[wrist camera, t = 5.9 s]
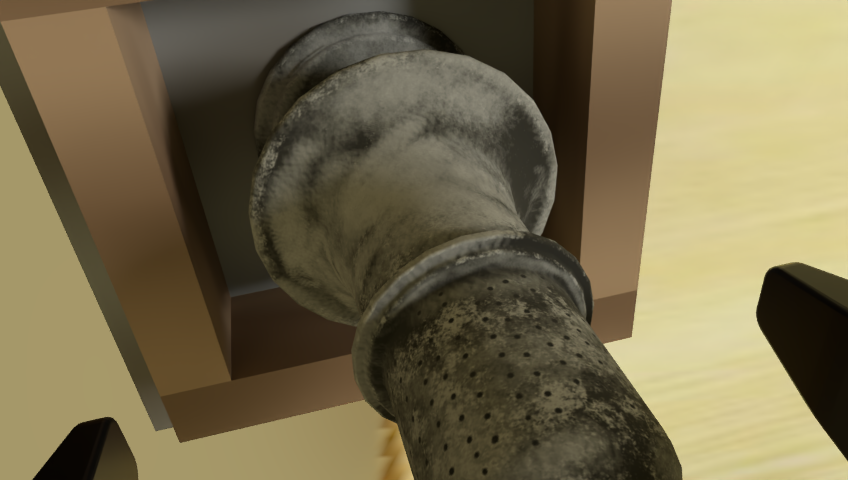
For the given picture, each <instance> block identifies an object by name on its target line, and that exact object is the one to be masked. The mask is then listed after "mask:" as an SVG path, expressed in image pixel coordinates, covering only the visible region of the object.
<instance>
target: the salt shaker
mask: <svg viewBox="0 0 848 480" xmlns="http://www.w3.org/2000/svg"><path fill="white" fill-rule="evenodd" d="M254 136H255V142H256V147H257V153H258V158H259V159H258V161H257V164H256V166H255V168H254V170H253V175H252V183H251V192H250V200H249V209H248V213H249V218H250V223H251V228H252V234H253V239H254V244H255V249H256V251H257V253H258V255H259V257H260V258H261V260H262V262H263V264H264V265H265V267H266V269H267V271H268V273H269V274H270V276H271V278H272V280H273V281H274V282H275V283H276V284H277V285H278V286H279V287H280V288H281V289H282V290H284V291H285V292H286V293H287V294H288V295H289V296H290V297H291V298H292V299H293V300H294V301H295V302H296V303H297V304H299V305H301V306H302V307H304V308H306V309H308V310H310V311H312V312H314V313H316V314H318V315H320V316H322V317H323V318H325V319H327V320H330V321H334V322H338V323H343V324H347V325H351V326H355V327H357V329H356V333H355V337H354V341H353V346H352V350H351V353H352V363H353V373H354V379H355V381H356V383H357V385H358V387H359V389H360V391H361V393H362V395H363V397H364V399H365V401H366V402H367V403H368V404H369V405H370V406H371V407H373V408H374V409H375V410H376V411H377V412H378V413H379V414H380V415H381V416H382V417H384V418H386V419H388V420H391V421H393V422H395V423H397V425H398V428H399V431H400V435H401V438H402V441H403V444H404V448H405V451H406V454H407V458H408V461H409V464H410V467H411V471H412V474H413V477H414V480H682V467H681V465H680V462H679V460H678V457H677V455H676V452H675V450H674V447H673V445H672V443H671V441H670V439H669V438H668V436H667V434H666V433H665V431H664V430H663V428H662V426H661V425H660V424H659V422H658V421H657V419H656V418H655V417H654V415H653V414H652V412H651V411H650V410H649V408H648V407H647V405H646V404H645V403H644V401H643V400H642V398H641V397H640V395H639V394H638V393H637V391H636V390H635V388H634V387H633V386H632V384H631V383H630V381H629V380H628V379H627V377H626V376H625V374H624V373H623V372H622V370H621V369H620V367H619V366H618V364H617V363H616V362H615V360H614V359H613V357H612V356H611V355H610V353H609V352H608V350H607V349H606V348H605V346H604V345H603V343H602V342H601V341H600V339H599V338H598V336H597V335H596V334H595V332H594V331H593V329H592V328H591V321H592V314H593V308H594V301H593V295H592V289H591V283H590V280H589V278H588V277H587V275H586V273H585V271H584V270H583V268H582V266H581V265H580V263H579V261H578V260H577V259H576V257H575V256H573V255H572V254H571V253H570V252H568V251H567V250H566V249H565V248H563V247H562V246H561V245H559V244H558V243H557V242H556V241H553V240H551V239H548V238H545V237H542V236H541V234H542V233H543V230H544V227H545V224H546V222H547V219H548V216H549V214H550V211H551V208H552V205H553V203H554V199H555V188H556V177H557V167H558V165H557V160H556V155H555V150H554V145H553V140H552V135H551V131H550V129H549V127H548V125H547V124H546V122H545V120H544V118H543V116H542V114H541V113H540V111H539V109H538V107H537V105H536V104H535V102H534V100H533V99H532V98H531V97H530V96H529V95H527V94H526V93H525V92H524V91H523V90H522V89H521V88H520V87H519V86H518V85H517V84H516V83H515V82H514V81H513V80H511V79H510V78H509V77H508V76H507V75H506V74H505V73H504V72H501V71H499V70H497V69H495V68H493V67H491V66H489V65H487V64H485V63H483V62H480V61H478V60H476V59H474V58H472V57H470V56H467V55H465V54H464V52H463V51H462V50H461V49H460V48H459V47H458V46H457V45H456V44H455V43H454V42H453V41H452V40H450V39H449V38H448V37H447V36H446V35H445V34H444V33H443V32H442V31H441V30H439V29H437V28H435V27H433V26H431V25H429V24H427V23H425V22H423V21H421V20H419V19H417V18H415V17H413V16H407V15H402V14H396V13H390V12H384V11H375V12H365V13H355V14H347V15H345V16H342V17H340V18H337V19H334V20H332V21H329V22H327V23H324V24H321V25H319V26H316V27H315V28H314V29H312V30H311V31H310V32H308V33H307V34H305V35H304V36H303V37H301V38H300V39H299V40H297V41H296V42H295V43H293V44H292V45H290V46H289V47H288V49H287V50H286V51H285V53H284V54H283V55H282V56H281V58H280V59H279V60H278V61H277V63H276V64H275V65H274V66H273V68H272V69H271V70H270V71H269V73H268V76H267V78H266V81H265V83H264V85H263V88H262V90H261V92H260V95H259V97H258V100H257V105H256V114H255V123H254Z"/></svg>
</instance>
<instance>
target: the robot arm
mask: <svg viewBox="0 0 848 480" xmlns="http://www.w3.org/2000/svg"><path fill="white" fill-rule="evenodd" d="M756 317H757V322H758V324H759V327H760V329H761V331H762V332H763V334H764V336H765V337H766V339H767V340H768V342H769V344H770V345H771V347H772V349H773V350H774V352H775V354H776V355H777V357H778V359H779V360H780V362H781V363H782V365H783V367H784V368H785V370H786V372H787V373H788V375H789V377H790V378H791V380H792V381H793V383H794V385H795V386H796V388H797V390H798V391H799V393H800V395H801V396H802V398H803V400H804V401H805V403H806V404H807V406H808V407H809V409H810V410H811V412H812V413H813V415H814V416H815V418H816V419H817V421H818V422H819V423H820V425H821V426H822V428H823V429H824V430H825V432H826V433H827V434H828V436H829V437H830V438H831V440H832V441H833V442H834V444H835V445H836V446H837V447H838V449H839V450H840V451H841V453H842V454H843V455H844V457H845V458H846V459H847V461H848V280H847V279H844V278H842V277H839V276H836V275H833V274H831V273H828V272H825V271H822V270H820V269H817V268H814V267H811V266H808V265H806V264H803V263H799V262H792V263H788V264H783V265H779V266H774V267H772V268H770V269H769V270H768V271H767V273H766V274H765V277H764V281H763V285H762V289H761V293H760V297H759V301H758V305H757V310H756ZM33 480H138V470H137V465H136V461H135V458H134V456H133V454H132V452H131V450H130V448H129V446H128V444H127V441H126V439H125V437H124V435H123V433H122V431H121V429H120V427H119V425H118V423H117V422H116V421H115V420H114V419H113V418H111V417H104V418H100V419H95V420H91V421H87V422H82V423H80V424H78V425H77V426H76V427H74V428H73V429H72V430H71V432H70V433H69V434H68V435H67V437H66V438H65V439H64V441H63V442H62V443H61V444H60V446H59V447H58V448H57V450H56V451H55V452H54V453H53V454H52V456H51V457H50V458H49V460H48V461H47V462H46V463H45V465H44V466H43V467H42V468H41V469H40V471H39V472H38V473H37V475H36V476H35V477H34V478H33Z"/></svg>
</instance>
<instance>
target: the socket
mask: <svg viewBox="0 0 848 480" xmlns="http://www.w3.org/2000/svg"><path fill="white" fill-rule="evenodd" d="M671 4H672V0H0V86H1V88H2V90H3V93H4V95H5V97H6V99H7V101H8V104H9V106H10V108H11V110H12V112H13V114H14V117H15V119H16V121H17V123H18V126H19V128H20V130H21V133H22V135H23V137H24V139H25V141H26V143H27V146H28V148H29V150H30V153H31V155H32V157H33V159H34V162H35V164H36V166H37V168H38V170H39V173H40V175H41V177H42V179H43V182H44V184H45V186H46V188H47V190H48V193H49V195H50V197H51V199H52V202H53V203H54V206H55V208H56V210H57V213H58V215H59V217H60V219H61V221H62V224H63V226H64V228H65V230H66V233H67V235H68V237H69V239H70V242H71V244H72V246H73V248H74V250H75V253H76V255H77V257H78V259H79V262H80V264H81V266H82V268H83V270H84V273H85V275H86V277H87V279H88V282H89V284H90V286H91V288H92V290H93V292H94V295H95V297H96V299H97V302H98V304H99V306H100V308H101V310H102V313H103V315H104V317H105V319H106V322H107V324H108V326H109V328H110V331H111V333H112V335H113V337H114V339H115V342H116V344H117V346H118V348H119V351H120V353H121V355H122V357H123V359H124V362H125V364H126V366H127V368H128V371H129V373H130V375H131V377H132V379H133V382H134V384H135V386H136V388H137V391H138V393H139V395H140V397H141V399H142V402H143V404H144V406H145V408H146V410H147V413H148V415H149V417H150V419H151V421H152V424H153V426H154V428H155V430H156V431H158V430H163V429H167V428H172V427H173V428H174V430H175V432H176V435H177V437H178V439H179V442H180V443H181V442H186V441H190V440H194V439H198V438H203V437H207V436H211V435H216V434H219V433H224V432H228V431H232V430H237V429H241V428H245V427H249V426H254V425H258V424H262V423H267V422H271V421H275V420H279V419H284V418H288V417H292V416H296V415H301V414H305V413H309V412H314V411H318V410H322V409H326V408H330V407H335V406H339V405H344V404H348V403H352V402H356V401H361V400H365V399H364V397H363V395H362V393H361V391H360V389H359V387H358V385H357V383H356V381H355V379H354V373H353V363H352V353H351V350H352V346H353V341H354V337H355V333H356V329H357V327H355V326H351V325H347V324H343V323H338V322H334V321H330V320H327V319H325V318H323V317H322V316H320V315H318V314H316V313H314V312H312V311H310V310H308V309H306V308H304V307H302V306H301V305H299V304H297V303H296V302H295V301H294V300H293V299H292V298H291V297H290V296H289V295H288V294H287V293H286V292H285V291H284V290H282V289H281V288H280V287H279V286H278V285H277V284H276V283H275V282H274V281H273V280H272V278H271V276H270V274H269V273H268V271H267V269H266V267H265V265H264V264H263V262H262V260H261V258H260V257H259V255H258V253H257V251H256V249H255V244H254V239H253V234H252V228H251V223H250V218H249V213H248V209H249V200H250V192H251V183H252V175H253V170H254V168H255V166H256V164H257V161H258V159H259V158H258V153H257V147H256V142H255V136H254V123H255V114H256V105H257V100H258V97H259V95H260V92H261V90H262V88H263V85H264V83H265V81H266V78H267V76H268V73H269V71H270V70H271V69H272V68H273V66H274V65H275V64H276V63H277V61H278V60H279V59H280V58H281V56H282V55H283V54H284V53H285V51H286V50H287V49H288V47H289V46H290V45H292V44H293V43H295V42H296V41H297V40H299V39H300V38H301V37H303V36H304V35H305V34H307V33H308V32H310V31H311V30H312V29H314V28H315V27H316V26H319V25H321V24H324V23H327V22H329V21H332V20H334V19H337V18H340V17H342V16H345V15H347V14H355V13H365V12H375V11H384V12H390V13H396V14H402V15H407V16H413V17H415V18H417V19H419V20H421V21H423V22H425V23H427V24H429V25H431V26H433V27H435V28H437V29H439V30H441V31H442V32H443V33H444V34H445V35H446V36H447V37H448V38H449V39H450V40H452V41H453V42H454V43H455V44H456V45H457V46H458V47H459V48H460V49H461V50H462V51H463V52H464V54H465V55H467V56H470V57H472V58H474V59H476V60H478V61H480V62H483V63H485V64H487V65H489V66H491V67H493V68H495V69H497V70H499V71H501V72H504V73H505V74H506V75H507V76H508V77H509V78H510V79H511V80H513V81H514V82H515V83H516V84H517V85H518V86H519V87H520V88H521V89H522V90H523V91H524V92H525V93H526V94H527V95H529V96H530V97H531V98H532V99H533V100H534V102H535V104H536V105H537V107H538V109H539V111H540V113H541V114H542V116H543V118H544V120H545V122H546V124H547V125H548V127H549V129H550V131H551V135H552V140H553V145H554V150H555V155H556V160H557V165H558V167H557V177H556V188H555V199H554V203H553V205H552V208H551V211H550V214H549V216H548V219H547V222H546V224H545V227H544V230H543V233H542V234H541V236H542V237H545V238H548V239H551V240H553V241H556V242H557V243H558V244H559V245H561V246H562V247H563V248H565V249H566V250H567V251H568V252H570V253H571V254H572V255H573V256H575V257H576V259H577V260H578V261H579V263H580V265H581V266H582V268H583V270H584V271H585V273H586V275H587V277H588V278H589V280H590V283H591V289H592V295H593V301H594V308H593V314H592V321H591V328H592V329H593V331H594V332H595V334H596V335H597V336H598V338H599V339H600V341H601V342H602V343H603V344H604V343H608V342H613V341H617V340H621V339H625V338H630V337H632V329H633V321H634V312H635V304H636V296H637V287H638V279H639V271H640V262H641V254H642V246H643V237H644V229H645V221H646V213H647V204H648V196H649V188H650V179H651V171H652V163H653V154H654V146H655V138H656V129H657V121H658V113H659V104H660V96H661V88H662V79H663V71H664V63H665V54H666V46H667V38H668V29H669V21H670V13H671Z"/></svg>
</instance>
